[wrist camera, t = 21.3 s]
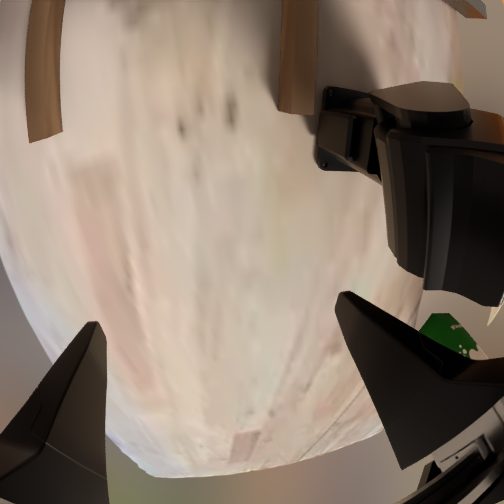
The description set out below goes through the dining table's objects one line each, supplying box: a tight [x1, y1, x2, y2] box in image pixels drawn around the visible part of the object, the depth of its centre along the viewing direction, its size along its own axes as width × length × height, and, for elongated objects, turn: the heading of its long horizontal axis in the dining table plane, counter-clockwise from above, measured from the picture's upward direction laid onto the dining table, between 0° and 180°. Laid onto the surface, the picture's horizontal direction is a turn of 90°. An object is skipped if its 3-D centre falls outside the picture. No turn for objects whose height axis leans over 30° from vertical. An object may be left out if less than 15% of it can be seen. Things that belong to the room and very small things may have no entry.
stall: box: [25, 0, 318, 143], centre depth 11 cm, size 18×15×2 cm
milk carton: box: [419, 313, 488, 360], centre depth 32 cm, size 9×9×20 cm
